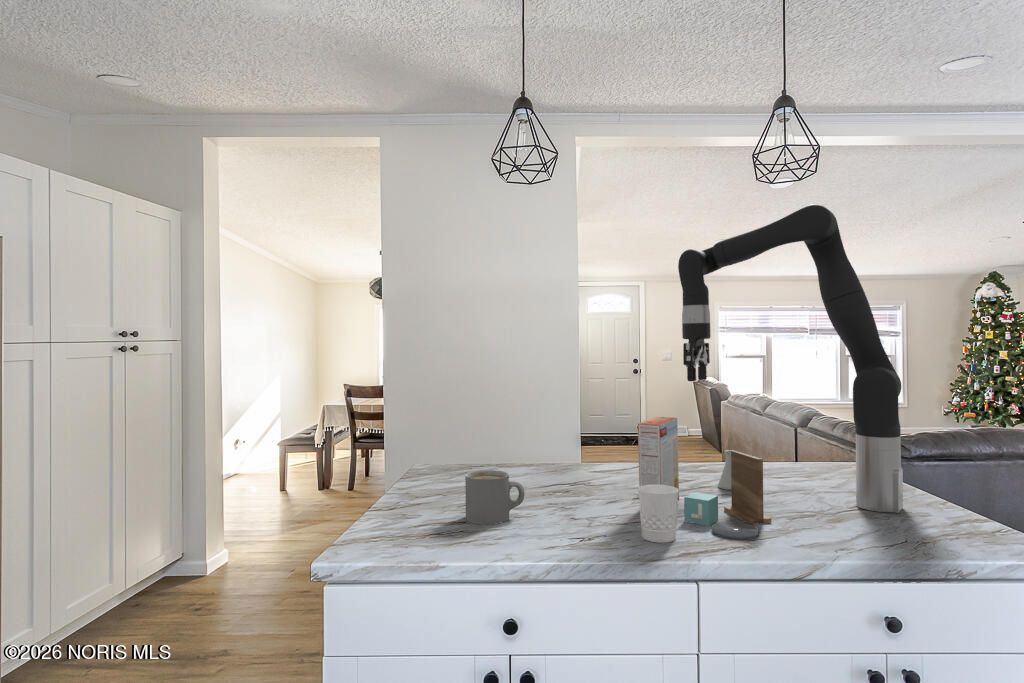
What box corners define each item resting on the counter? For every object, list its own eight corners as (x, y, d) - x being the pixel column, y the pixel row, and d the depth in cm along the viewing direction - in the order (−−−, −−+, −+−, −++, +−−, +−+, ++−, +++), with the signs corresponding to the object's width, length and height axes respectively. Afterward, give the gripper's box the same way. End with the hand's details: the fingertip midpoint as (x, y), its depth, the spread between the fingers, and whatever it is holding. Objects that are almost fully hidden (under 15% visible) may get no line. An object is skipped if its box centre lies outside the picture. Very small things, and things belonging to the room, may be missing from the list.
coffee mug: (463, 524, 140) (462, 479, 140) (468, 512, 150) (467, 470, 150) (523, 524, 139) (523, 479, 139) (525, 512, 149) (524, 469, 149)
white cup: (650, 529, 135) (649, 482, 135) (685, 536, 130) (684, 487, 130) (632, 539, 129) (631, 489, 129) (668, 546, 124) (667, 495, 124)
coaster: (763, 531, 133) (763, 526, 133) (749, 542, 126) (749, 537, 126) (721, 523, 138) (721, 519, 138) (705, 534, 131) (705, 529, 131)
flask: (749, 490, 168) (748, 453, 168) (721, 491, 169) (721, 453, 169) (740, 484, 176) (739, 448, 176) (713, 484, 176) (713, 448, 176)
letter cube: (718, 520, 142) (717, 495, 142) (708, 526, 137) (708, 500, 137) (694, 516, 145) (694, 492, 145) (684, 521, 141) (684, 497, 141)
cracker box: (656, 498, 161) (655, 416, 161) (680, 501, 158) (679, 417, 158) (637, 511, 149) (636, 422, 149) (662, 514, 146) (661, 423, 146)
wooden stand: (743, 509, 150) (743, 450, 150) (771, 522, 139) (770, 458, 139) (724, 511, 149) (723, 451, 149) (750, 524, 138) (749, 459, 138)
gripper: (700, 321, 169) (701, 382, 168) (717, 322, 180) (718, 379, 180) (673, 322, 173) (674, 381, 173) (691, 323, 185) (693, 378, 184)
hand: (697, 380), depth 176 cm, fingers open, 8 cm apart
